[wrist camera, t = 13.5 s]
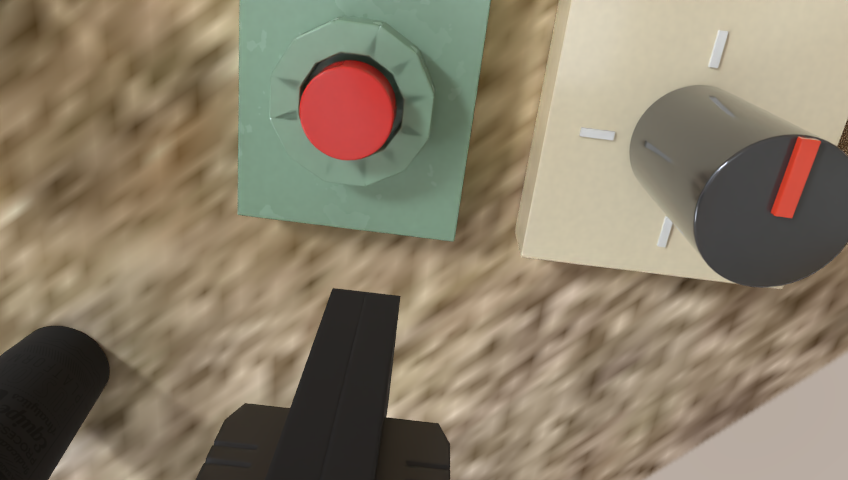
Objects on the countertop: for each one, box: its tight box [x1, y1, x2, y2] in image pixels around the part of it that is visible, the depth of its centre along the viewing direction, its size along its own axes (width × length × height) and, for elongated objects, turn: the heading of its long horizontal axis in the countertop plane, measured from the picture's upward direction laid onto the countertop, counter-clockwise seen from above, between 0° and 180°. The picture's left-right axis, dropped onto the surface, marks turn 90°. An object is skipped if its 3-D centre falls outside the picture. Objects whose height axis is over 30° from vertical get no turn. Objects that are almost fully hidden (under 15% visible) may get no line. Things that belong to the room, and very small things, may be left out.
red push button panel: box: [238, 0, 491, 241], centre depth 28 cm, size 12×10×4 cm
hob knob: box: [629, 85, 848, 287], centre depth 24 cm, size 5×5×8 cm
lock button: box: [299, 60, 397, 160], centre depth 26 cm, size 4×4×2 cm
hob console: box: [515, 0, 848, 289], centre depth 28 cm, size 16×12×3 cm
